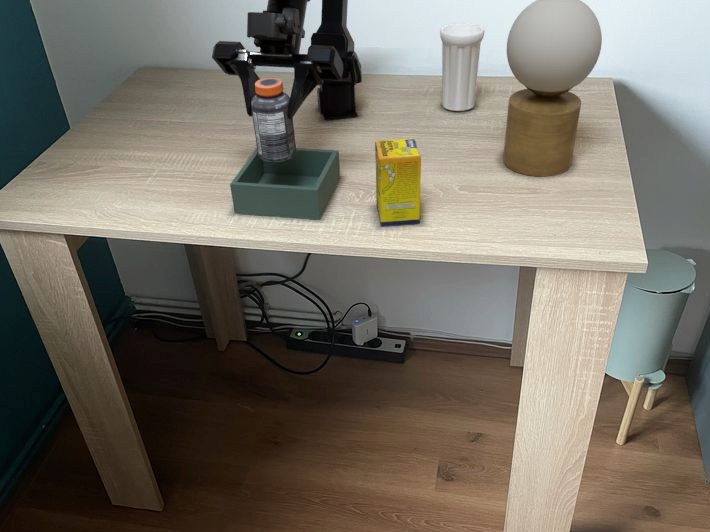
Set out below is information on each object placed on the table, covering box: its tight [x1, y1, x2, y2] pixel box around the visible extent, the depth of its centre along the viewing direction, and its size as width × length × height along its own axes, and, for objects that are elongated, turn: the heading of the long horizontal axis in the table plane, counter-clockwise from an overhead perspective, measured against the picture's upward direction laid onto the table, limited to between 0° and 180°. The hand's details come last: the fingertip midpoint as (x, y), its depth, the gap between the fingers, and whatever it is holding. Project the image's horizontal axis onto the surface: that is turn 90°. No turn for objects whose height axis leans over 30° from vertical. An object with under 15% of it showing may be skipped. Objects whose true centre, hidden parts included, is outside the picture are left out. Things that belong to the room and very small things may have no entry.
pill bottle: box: [251, 77, 297, 162], centre depth 108 cm, size 6×6×11 cm
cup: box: [439, 22, 486, 112], centre depth 137 cm, size 8×8×14 cm
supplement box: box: [374, 137, 422, 228], centre depth 106 cm, size 6×6×11 cm
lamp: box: [502, 0, 603, 177], centre depth 115 cm, size 15×14×25 cm
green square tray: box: [229, 147, 341, 221], centre depth 114 cm, size 14×14×5 cm
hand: (269, 116), depth 107 cm, fingers closed on pill bottle, 6 cm apart
